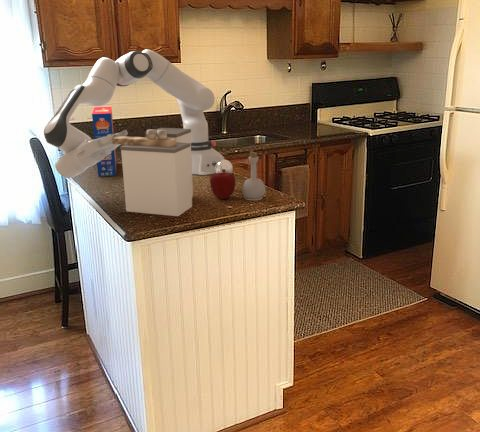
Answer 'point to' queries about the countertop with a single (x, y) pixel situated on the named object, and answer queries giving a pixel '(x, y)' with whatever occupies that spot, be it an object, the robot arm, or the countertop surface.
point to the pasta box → (102, 129)
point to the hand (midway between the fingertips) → (119, 133)
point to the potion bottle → (253, 182)
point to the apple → (222, 184)
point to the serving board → (147, 139)
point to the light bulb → (224, 166)
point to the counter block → (159, 175)
